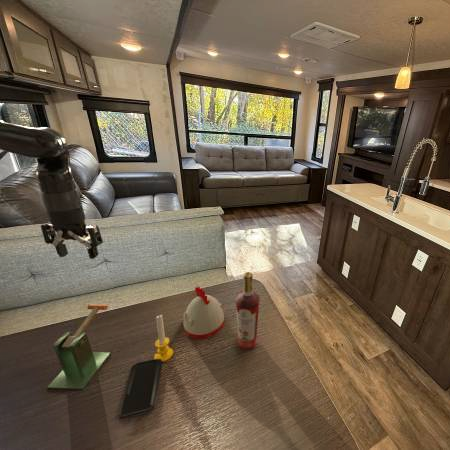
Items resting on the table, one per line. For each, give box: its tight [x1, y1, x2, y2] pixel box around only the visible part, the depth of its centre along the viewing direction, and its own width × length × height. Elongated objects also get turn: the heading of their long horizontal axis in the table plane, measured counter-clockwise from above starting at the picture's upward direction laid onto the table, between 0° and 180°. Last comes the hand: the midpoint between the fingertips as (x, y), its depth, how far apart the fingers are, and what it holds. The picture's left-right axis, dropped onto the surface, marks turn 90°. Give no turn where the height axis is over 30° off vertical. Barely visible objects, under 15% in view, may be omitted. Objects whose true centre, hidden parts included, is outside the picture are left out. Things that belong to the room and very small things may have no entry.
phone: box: [118, 358, 163, 419], centre depth 68 cm, size 8×1×15 cm
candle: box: [153, 314, 174, 363], centre depth 74 cm, size 5×5×16 cm
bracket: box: [46, 331, 112, 391], centre depth 68 cm, size 11×9×13 cm
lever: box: [61, 303, 109, 351], centre depth 70 cm, size 13×5×2 cm, turn 2°
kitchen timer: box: [182, 286, 225, 339], centre depth 87 cm, size 14×14×15 cm
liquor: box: [235, 271, 260, 350], centre depth 79 cm, size 7×7×28 cm
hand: (79, 256), depth 74 cm, fingers open, 8 cm apart
